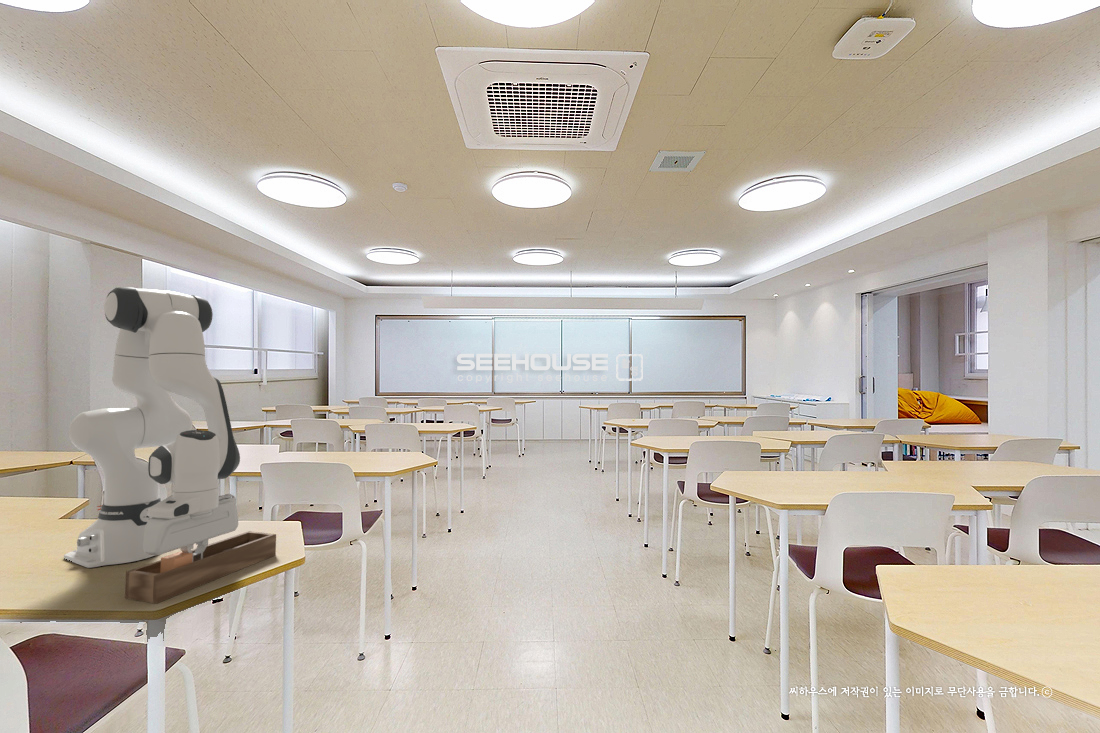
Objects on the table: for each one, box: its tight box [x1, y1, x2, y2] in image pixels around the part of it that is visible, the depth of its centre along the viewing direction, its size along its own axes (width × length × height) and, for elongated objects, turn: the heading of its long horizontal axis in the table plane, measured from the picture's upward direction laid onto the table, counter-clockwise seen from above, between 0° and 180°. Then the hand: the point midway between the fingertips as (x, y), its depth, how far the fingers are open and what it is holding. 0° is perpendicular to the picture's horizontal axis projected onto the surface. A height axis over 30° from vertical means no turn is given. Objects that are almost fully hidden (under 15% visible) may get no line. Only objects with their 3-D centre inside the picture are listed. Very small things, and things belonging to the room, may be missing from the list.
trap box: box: [124, 530, 277, 604], centre depth 116 cm, size 9×30×6 cm, turn 164°
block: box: [160, 551, 193, 574], centre depth 108 cm, size 4×4×4 cm
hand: (194, 562), depth 112 cm, fingers closed
